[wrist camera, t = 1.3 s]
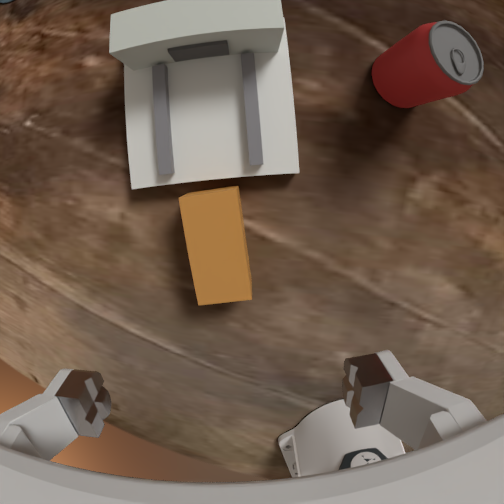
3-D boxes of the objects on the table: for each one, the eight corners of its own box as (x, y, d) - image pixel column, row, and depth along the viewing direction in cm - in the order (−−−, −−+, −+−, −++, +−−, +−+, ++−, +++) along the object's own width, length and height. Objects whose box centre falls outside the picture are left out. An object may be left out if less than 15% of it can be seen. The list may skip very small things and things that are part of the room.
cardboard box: (251, 280, 34) (252, 299, 29) (205, 285, 34) (198, 305, 29) (238, 185, 31) (236, 189, 26) (189, 192, 31) (178, 197, 26)
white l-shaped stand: (296, 172, 31) (311, 175, 23) (138, 187, 31) (106, 196, 23) (282, 25, 26) (291, -11, 19) (130, 45, 27) (100, 17, 19)
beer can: (370, 104, 29) (428, 79, 17) (367, 48, 27) (418, 4, 15) (423, 113, 29) (492, 99, 17) (419, 60, 27) (482, 29, 15)
